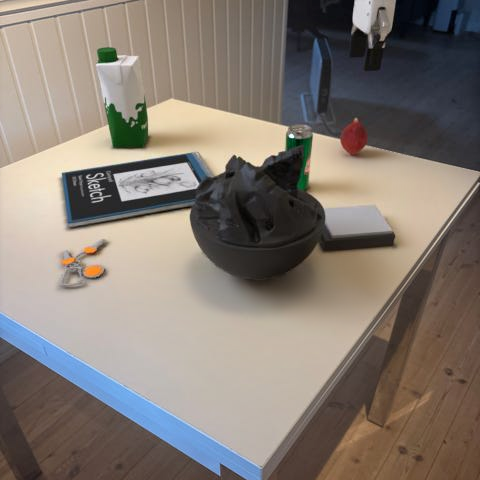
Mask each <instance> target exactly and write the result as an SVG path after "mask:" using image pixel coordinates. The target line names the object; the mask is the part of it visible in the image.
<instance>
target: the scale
mask: <svg viewBox="0 0 480 480" xmlns="http://www.w3.org/2000/svg"><path fill="white" fill-rule="evenodd" d="M323 208H324V207H323ZM324 211H325V216H326V220H325V225H324V229H323V232H322V235H321V237H320V239H319V241H318V242H320V244H321V246H322V248H323V251H325V252H327V251H339V250H352V249H362V248H375V247H388V246H394V244H395V240H396V237H397V235H396V234H395V232H394V230H393V228H392V227H391V226H390V224H389V222H388V221H387V219H386V218H385V216H383V214H382V213H381V211H380V209H379V208H378V206H377V205H376V204H367V205H353V206H340V207H338V206H337V207H327V208H326V207H325V208H324Z"/></svg>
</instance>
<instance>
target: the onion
mask: <svg viewBox="0 0 480 480" xmlns="http://www.w3.org/2000/svg"><path fill="white" fill-rule="evenodd" d="M340 144H341V146H342V148H343V149H344V151H345V152H346V153H348V154H349V155H351V156H353V155H355V154H357V153H359V152H361V151H362V150H363V149H364V148H365V147H366V146H367V144H368V131H367V129H366V127H365V126H364V125H363V124H362V123H360V121H359V118H357V117H355V118H354V119H353V122H352V123H349V124H348V125H347V126H346V127H345V128H344V129H343V130H342V132H341V135H340Z"/></svg>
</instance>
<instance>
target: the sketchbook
mask: <svg viewBox="0 0 480 480" xmlns="http://www.w3.org/2000/svg"><path fill="white" fill-rule="evenodd" d="M206 176H207V177H215V176H216V175H215V174H214V172H213V171H212V169H211V168H210V166H209V165H208V163H207V162H206V160H205V159H204V157H203V156H202V155H201V153H200V152H199V151H192V152H186V153H181V154H174V155H173V154H172V155H167V156H160V157H155V158H147V159H142V160H135V161H129V162H122V163H116V164H108V165H102V166H98V167H90V168H83V169H76V170H70V171H64V172H61V178H62V180H61V181H62V186H63V195H64V203H65V208H66V217H67V224H68V227H69V229H73V228H78V227H85V226H88V225H94V224H99V223H105V222H111V221H117V220H123V219H127V218H134V217H139V216H143V215H144V216H145V215H150V214H155V213H161V212H166V211H171V210H172V211H173V210H178V209H182V208H188V207H192V206H193V205H194V203H195V200H196V189H197V187H198V185H199V184H200V182H201V181H202V180H203V179H204V177H206Z"/></svg>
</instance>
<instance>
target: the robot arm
mask: <svg viewBox="0 0 480 480" xmlns="http://www.w3.org/2000/svg"><path fill="white" fill-rule="evenodd" d="M396 3H397V0H354V3H353V11H352V28H351V32H350V33H351V35H350V41H349V49H348V57H349V58H350V59H351V58H364V62H363V71H364V72H379V71H380V70H381V68H382V67H381V66H382V60H383V55H384V49H385V47H386V42H387V39H388V34H390V32H391V31H392V27H393V22H394V17H395V9H396ZM374 36H375V37H374ZM367 40H368V47H366V45H367Z"/></svg>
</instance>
